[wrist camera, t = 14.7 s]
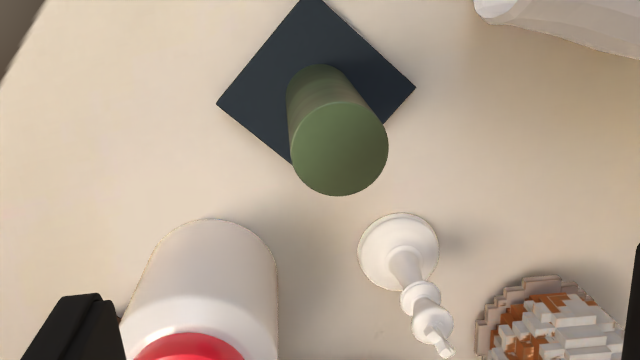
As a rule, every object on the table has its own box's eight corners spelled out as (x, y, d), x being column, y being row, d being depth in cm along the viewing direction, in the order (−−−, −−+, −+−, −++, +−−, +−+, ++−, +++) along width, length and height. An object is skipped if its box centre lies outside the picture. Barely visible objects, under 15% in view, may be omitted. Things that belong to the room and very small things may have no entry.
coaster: (216, 102, 30) (215, 104, 29) (308, -11, 28) (309, -12, 28) (322, 186, 32) (323, 190, 31) (414, 85, 30) (416, 87, 30)
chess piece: (402, 196, 32) (454, 282, 23) (453, 250, 34) (522, 352, 24) (340, 250, 33) (366, 354, 24) (392, 300, 35) (436, 417, 25)
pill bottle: (249, 348, 35) (239, 500, 25) (129, 310, 34) (64, 455, 23) (297, 245, 33) (308, 364, 23) (171, 199, 31) (121, 304, 21)
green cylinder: (271, 102, 29) (269, 156, 20) (315, 49, 29) (335, 80, 19) (322, 144, 30) (343, 215, 21) (366, 94, 30) (409, 144, 20)
